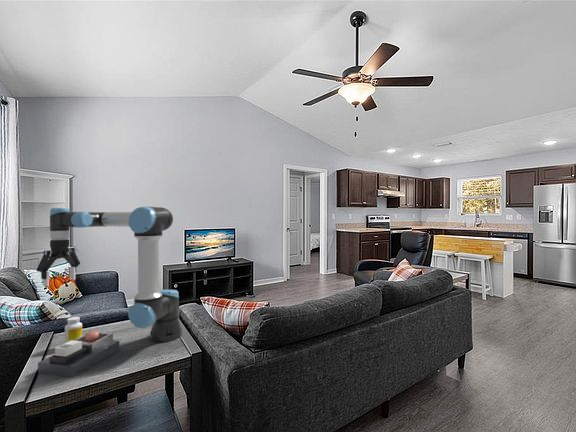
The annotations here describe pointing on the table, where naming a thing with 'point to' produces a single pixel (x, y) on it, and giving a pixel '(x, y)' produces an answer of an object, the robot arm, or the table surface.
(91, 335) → the breaker button
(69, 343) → the on button
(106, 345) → the grey stepped block
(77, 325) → the supplement bottle
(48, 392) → the table surface
